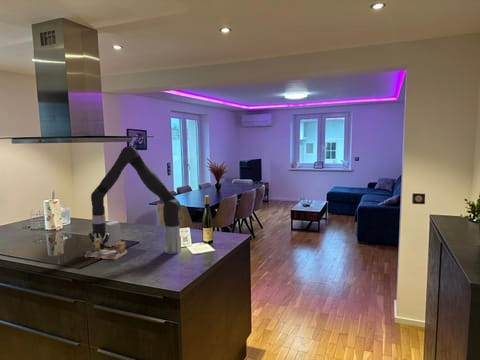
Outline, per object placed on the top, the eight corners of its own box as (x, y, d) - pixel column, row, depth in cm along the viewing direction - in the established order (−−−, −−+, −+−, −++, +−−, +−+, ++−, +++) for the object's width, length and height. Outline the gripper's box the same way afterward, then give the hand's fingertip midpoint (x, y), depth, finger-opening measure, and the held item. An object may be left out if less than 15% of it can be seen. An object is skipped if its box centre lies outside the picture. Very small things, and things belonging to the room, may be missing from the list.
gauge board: (127, 252, 197) (126, 240, 196) (115, 259, 184) (115, 247, 184) (98, 250, 201) (97, 238, 200) (84, 257, 188) (84, 245, 187)
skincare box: (114, 242, 217) (114, 220, 215) (121, 244, 213) (120, 221, 212) (104, 245, 209) (103, 223, 208) (110, 247, 206) (109, 224, 204)
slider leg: (104, 249, 197) (104, 239, 197) (96, 253, 189) (96, 243, 189) (100, 248, 198) (99, 239, 197) (91, 253, 190) (91, 243, 189)
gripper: (112, 221, 196) (113, 247, 198) (92, 219, 198) (93, 246, 200) (105, 223, 188) (106, 251, 190) (84, 222, 191) (85, 250, 193)
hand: (99, 248), depth 195 cm, fingers closed on slider leg, 3 cm apart
